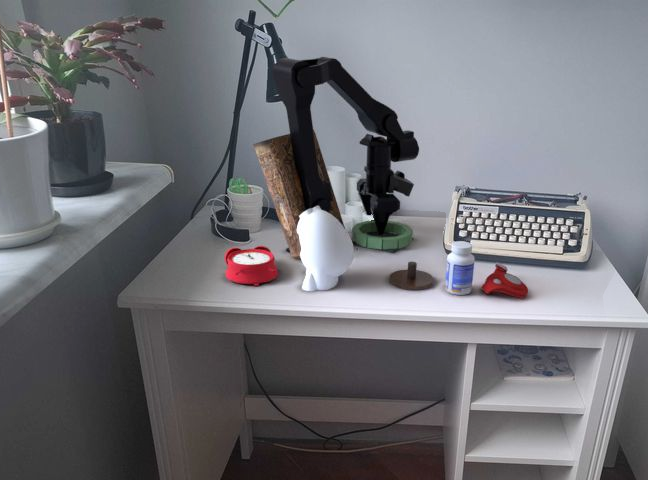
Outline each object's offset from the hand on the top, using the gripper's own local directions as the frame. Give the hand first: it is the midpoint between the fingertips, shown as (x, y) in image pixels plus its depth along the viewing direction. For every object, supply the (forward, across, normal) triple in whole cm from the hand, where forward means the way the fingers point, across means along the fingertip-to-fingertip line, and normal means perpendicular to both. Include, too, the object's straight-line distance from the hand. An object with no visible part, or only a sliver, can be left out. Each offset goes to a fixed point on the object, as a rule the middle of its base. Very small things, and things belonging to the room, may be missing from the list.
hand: (376, 228), depth 155 cm
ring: (+1, -6, 0) cm, 6 cm away
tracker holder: (+1, -37, -18) cm, 41 cm away
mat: (+1, -6, 0) cm, 6 cm away
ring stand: (+1, -30, 0) cm, 30 cm away
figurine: (+2, -27, +17) cm, 32 cm away
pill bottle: (+2, -36, -8) cm, 37 cm away
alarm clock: (+2, -20, +32) cm, 38 cm away
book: (+1, -9, +16) cm, 18 cm away
